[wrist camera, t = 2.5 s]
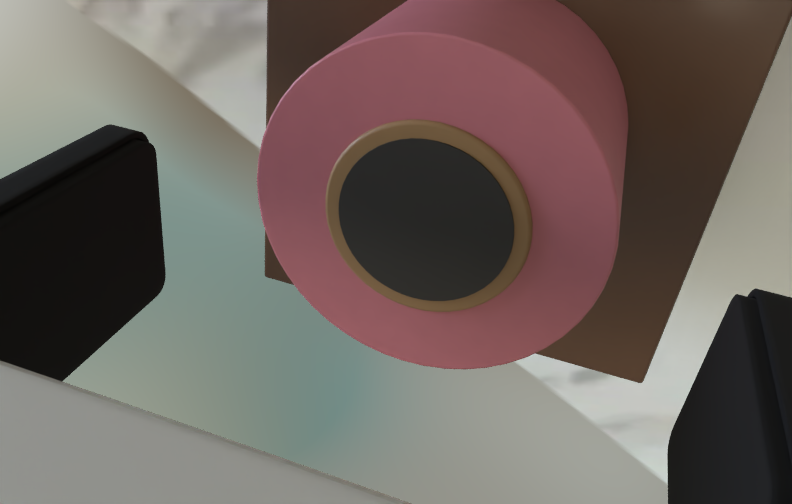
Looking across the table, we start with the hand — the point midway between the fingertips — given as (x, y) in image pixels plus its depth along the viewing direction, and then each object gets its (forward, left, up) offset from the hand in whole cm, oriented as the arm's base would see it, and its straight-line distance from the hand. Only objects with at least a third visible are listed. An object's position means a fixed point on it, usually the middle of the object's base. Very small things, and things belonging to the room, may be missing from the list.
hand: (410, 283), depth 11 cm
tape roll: (0, 0, -7) cm, 7 cm away
